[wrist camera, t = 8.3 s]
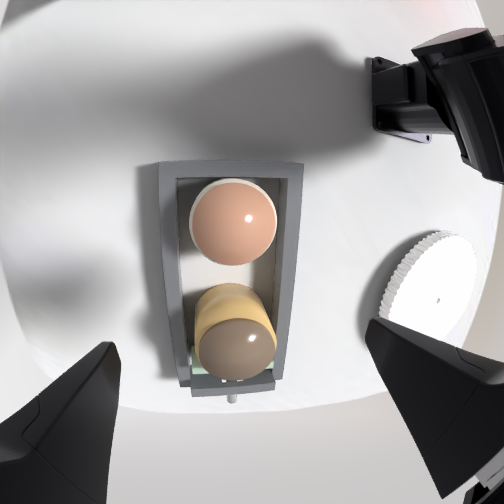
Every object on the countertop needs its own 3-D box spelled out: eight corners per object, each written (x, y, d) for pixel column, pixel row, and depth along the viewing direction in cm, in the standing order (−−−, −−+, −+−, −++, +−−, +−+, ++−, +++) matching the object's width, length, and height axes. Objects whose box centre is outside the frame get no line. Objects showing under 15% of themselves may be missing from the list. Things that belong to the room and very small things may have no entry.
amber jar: (261, 338, 23) (275, 378, 19) (196, 342, 22) (198, 384, 18) (265, 281, 21) (282, 316, 17) (192, 283, 20) (191, 321, 16)
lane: (294, 162, 19) (310, 164, 16) (277, 366, 25) (285, 388, 22) (162, 161, 17) (155, 162, 14) (180, 373, 23) (180, 397, 20)
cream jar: (233, 162, 18) (239, 160, 14) (279, 217, 20) (296, 229, 16) (177, 211, 18) (169, 221, 15) (225, 263, 20) (229, 285, 16)
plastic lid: (355, 349, 26) (366, 364, 24) (397, 218, 22) (415, 226, 20) (436, 336, 30) (447, 347, 27) (473, 235, 25) (488, 242, 23)
